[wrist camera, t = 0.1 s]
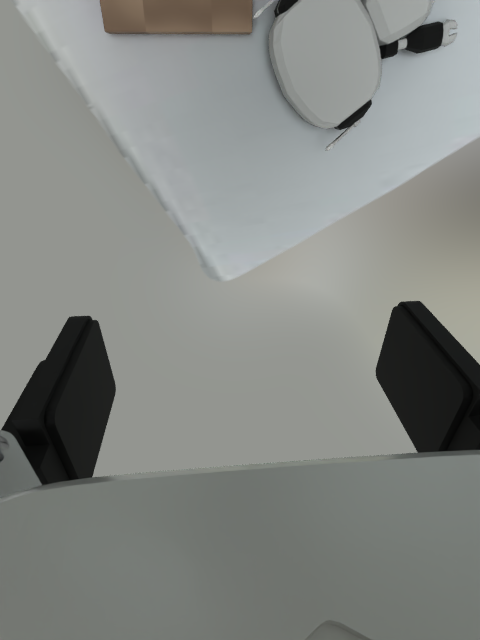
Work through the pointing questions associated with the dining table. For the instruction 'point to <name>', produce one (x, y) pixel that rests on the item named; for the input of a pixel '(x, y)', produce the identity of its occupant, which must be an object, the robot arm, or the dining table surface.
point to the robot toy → (344, 52)
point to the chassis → (177, 16)
